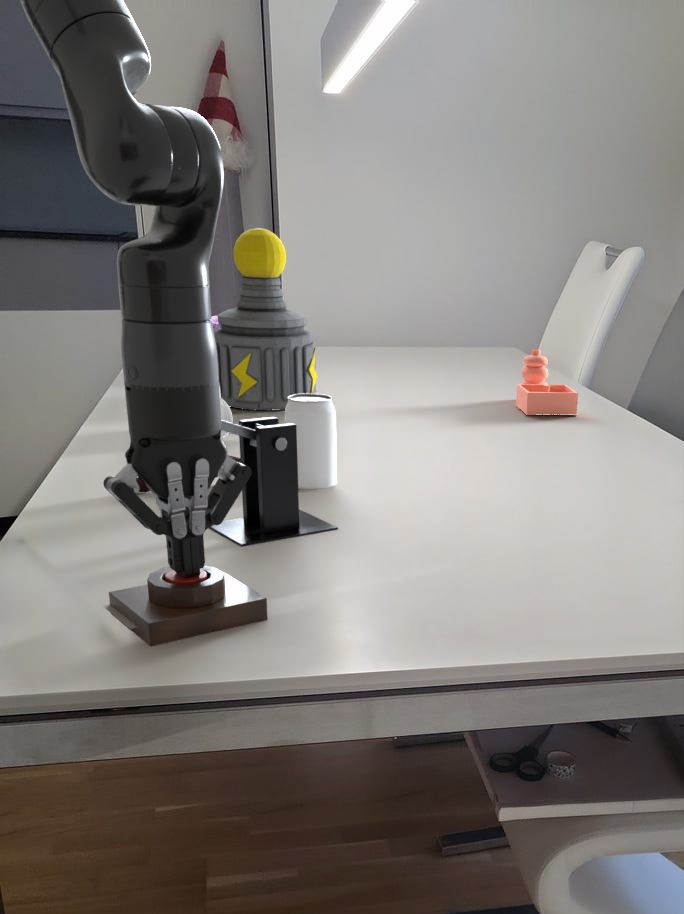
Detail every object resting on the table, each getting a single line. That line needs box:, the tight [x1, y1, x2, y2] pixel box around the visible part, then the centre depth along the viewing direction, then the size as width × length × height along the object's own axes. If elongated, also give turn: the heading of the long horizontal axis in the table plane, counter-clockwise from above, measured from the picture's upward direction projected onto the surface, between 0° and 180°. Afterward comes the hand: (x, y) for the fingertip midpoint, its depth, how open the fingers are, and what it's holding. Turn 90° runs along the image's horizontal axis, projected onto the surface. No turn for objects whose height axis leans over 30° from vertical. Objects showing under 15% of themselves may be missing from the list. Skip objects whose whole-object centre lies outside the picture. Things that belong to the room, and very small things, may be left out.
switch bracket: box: [208, 416, 339, 547], centre depth 114 cm, size 12×9×13 cm
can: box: [284, 393, 338, 490], centre depth 133 cm, size 6×6×12 cm
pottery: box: [515, 348, 579, 416], centre depth 196 cm, size 18×10×10 cm, turn 10°
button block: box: [108, 564, 268, 647], centre depth 93 cm, size 11×9×4 cm
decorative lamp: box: [214, 227, 319, 411], centre depth 185 cm, size 19×19×30 cm
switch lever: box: [221, 420, 263, 447], centre depth 109 cm, size 12×6×2 cm, turn 128°
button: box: [165, 569, 207, 584], centre depth 92 cm, size 4×4×2 cm
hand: (187, 574), depth 92 cm, fingers closed
